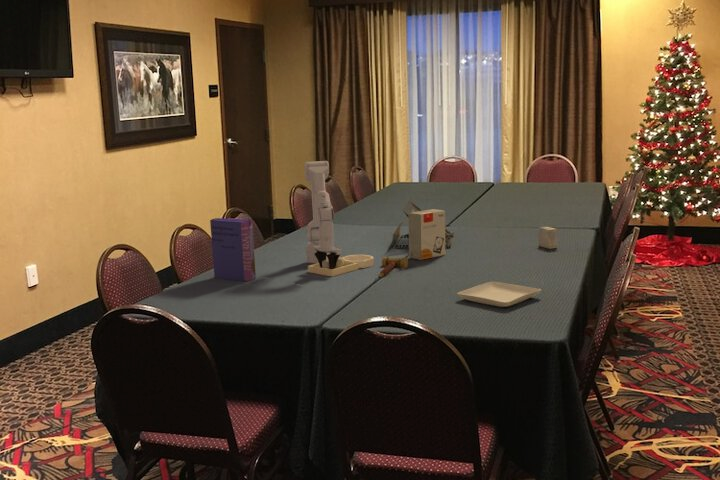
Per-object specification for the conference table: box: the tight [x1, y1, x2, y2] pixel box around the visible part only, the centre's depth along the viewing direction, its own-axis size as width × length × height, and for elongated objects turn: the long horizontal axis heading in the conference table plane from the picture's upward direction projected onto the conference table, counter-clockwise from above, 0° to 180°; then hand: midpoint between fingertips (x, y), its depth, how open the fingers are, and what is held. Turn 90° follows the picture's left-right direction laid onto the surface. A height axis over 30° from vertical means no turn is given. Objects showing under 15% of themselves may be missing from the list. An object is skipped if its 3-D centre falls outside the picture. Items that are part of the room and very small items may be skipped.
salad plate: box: [456, 281, 542, 308], centre depth 270 cm, size 21×21×3 cm
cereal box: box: [209, 217, 257, 283], centre depth 313 cm, size 17×5×24 cm, turn 59°
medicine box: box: [538, 226, 558, 250], centre depth 351 cm, size 8×4×9 cm, turn 22°
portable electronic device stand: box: [391, 200, 455, 250], centre depth 374 cm, size 33×28×18 cm
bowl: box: [342, 254, 375, 269], centre depth 329 cm, size 13×13×4 cm
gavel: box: [379, 256, 409, 278], centre depth 316 cm, size 21×5×10 cm
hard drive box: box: [408, 208, 446, 261], centre depth 341 cm, size 16×8×20 cm, turn 129°
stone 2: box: [335, 256, 344, 269], centre depth 322 cm, size 4×4×4 cm
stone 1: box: [322, 260, 330, 269], centre depth 317 cm, size 4×4×4 cm
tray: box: [307, 261, 359, 277], centre depth 320 cm, size 14×15×3 cm
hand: (327, 270), depth 318 cm, fingers open, 5 cm apart
